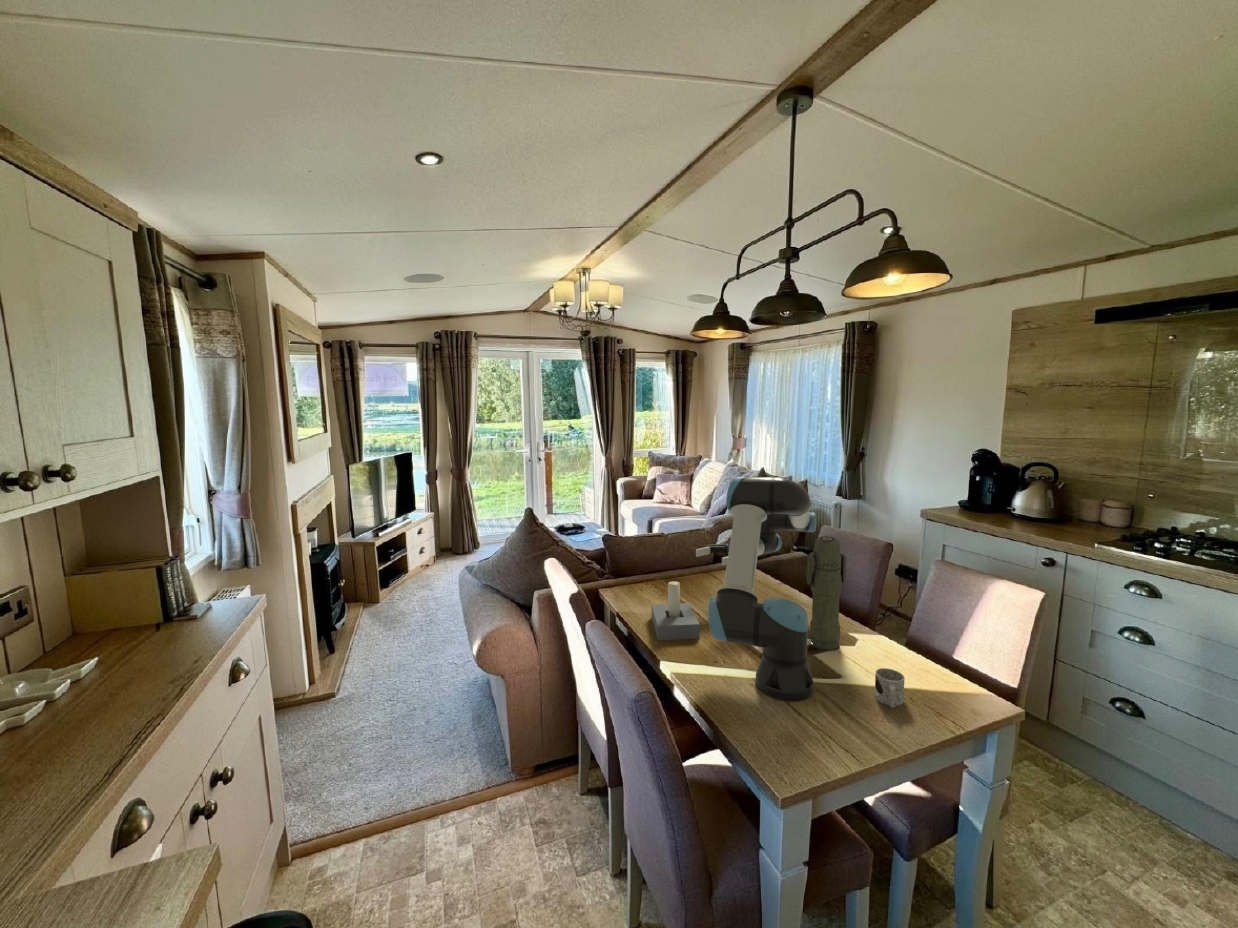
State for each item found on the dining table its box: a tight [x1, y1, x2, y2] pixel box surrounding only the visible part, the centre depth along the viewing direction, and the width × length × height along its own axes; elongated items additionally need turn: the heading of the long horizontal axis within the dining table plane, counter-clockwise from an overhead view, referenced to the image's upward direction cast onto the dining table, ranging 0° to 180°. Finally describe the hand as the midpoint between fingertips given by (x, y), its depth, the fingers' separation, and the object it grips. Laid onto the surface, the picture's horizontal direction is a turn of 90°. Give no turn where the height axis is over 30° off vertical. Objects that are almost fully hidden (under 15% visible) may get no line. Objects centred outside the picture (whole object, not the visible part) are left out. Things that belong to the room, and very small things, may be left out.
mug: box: [874, 667, 905, 709], centre depth 129 cm, size 10×7×7 cm
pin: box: [667, 581, 681, 618], centre depth 174 cm, size 4×4×15 cm
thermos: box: [806, 535, 847, 652], centre depth 159 cm, size 9×12×35 cm
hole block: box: [650, 602, 701, 641], centre depth 175 cm, size 18×14×5 cm
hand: (709, 557), depth 182 cm, fingers open, 13 cm apart
